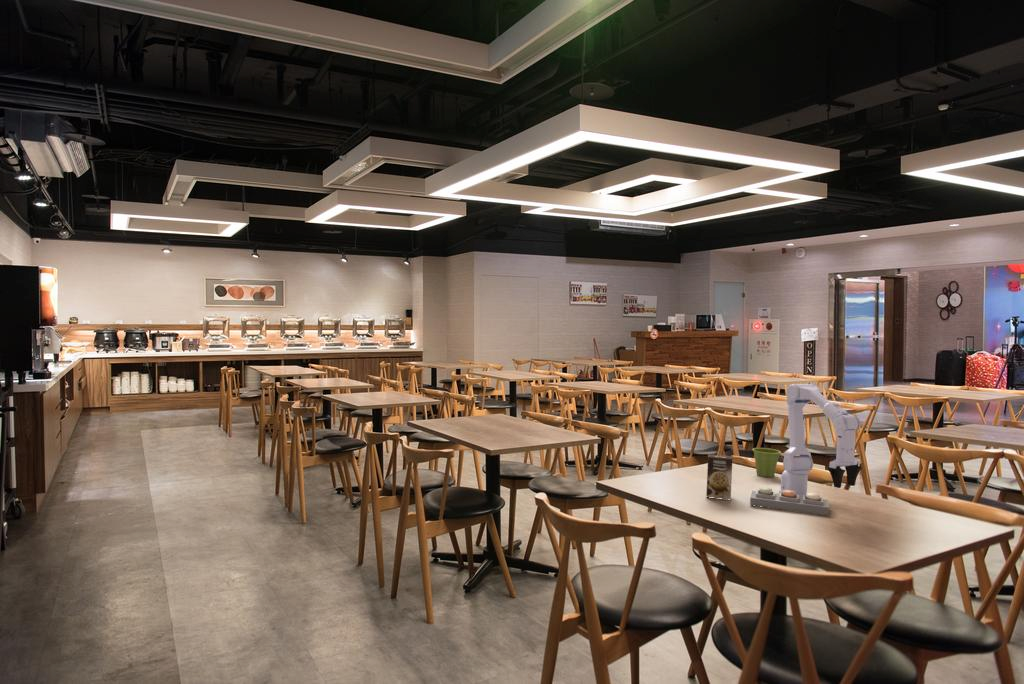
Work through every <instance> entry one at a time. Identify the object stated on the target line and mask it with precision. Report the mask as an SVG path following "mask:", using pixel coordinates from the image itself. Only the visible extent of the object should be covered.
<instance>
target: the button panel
mask: <svg viewBox="0 0 1024 684" xmlns="http://www.w3.org/2000/svg"><path fill="white" fill-rule="evenodd" d="M749 498H750V499H749V506H750V505H755V506H762V507H761V508H763V507H769V508H768V509H771V508H776V509H775V510H778V509H782V510H781V511H786V510H791V511H790V512H794V511H798V512H797V513H802V512H805V513H804V514H809V513H812V514H811V515H817V514H821V515H820V516H825V515H828V516H827V517H829V515H830V506H829V501H828V500H829V499H825V498H823V497H822V496H820V500H811V499H807V498H806V495H803V497H800V496H798V494H796V496H795V497H786V496H783V493H782V492H779V493H776V491H773V490H772V494H762V493H760V492H759V489H756V490H751V494H750V497H749ZM755 506H754V507H755Z"/></svg>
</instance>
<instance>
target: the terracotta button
mask: <svg viewBox="0 0 1024 684" xmlns="http://www.w3.org/2000/svg"><path fill="white" fill-rule="evenodd" d="M783 496H786V497H795V496H796V492H795V491H792V490H783Z"/></svg>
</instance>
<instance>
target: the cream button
mask: <svg viewBox="0 0 1024 684" xmlns="http://www.w3.org/2000/svg"><path fill="white" fill-rule="evenodd" d="M820 497H821V494H819V493H817V492H816V493H815V492H807V493H806V498H807V499H811V500H820Z"/></svg>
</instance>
